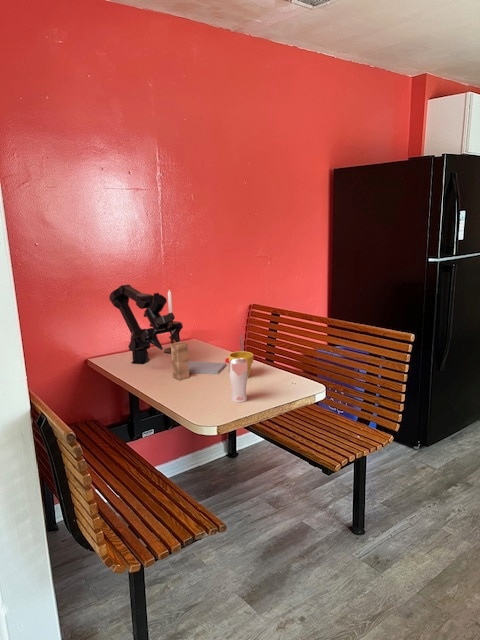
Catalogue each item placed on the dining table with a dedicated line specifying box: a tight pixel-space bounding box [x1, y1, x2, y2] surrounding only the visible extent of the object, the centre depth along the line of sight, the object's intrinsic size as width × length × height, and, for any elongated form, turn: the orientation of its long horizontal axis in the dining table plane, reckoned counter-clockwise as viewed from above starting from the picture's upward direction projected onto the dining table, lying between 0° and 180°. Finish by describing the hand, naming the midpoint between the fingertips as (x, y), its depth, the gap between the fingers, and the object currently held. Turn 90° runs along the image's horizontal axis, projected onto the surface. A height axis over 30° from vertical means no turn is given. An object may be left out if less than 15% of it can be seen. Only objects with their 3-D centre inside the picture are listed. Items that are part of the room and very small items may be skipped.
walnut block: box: [170, 341, 190, 381], centre depth 202 cm, size 5×5×15 cm
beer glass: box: [228, 358, 249, 403], centre depth 177 cm, size 7×7×15 cm
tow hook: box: [224, 333, 245, 364], centre depth 224 cm, size 8×13×9 cm
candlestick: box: [163, 283, 183, 355], centre depth 241 cm, size 11×11×35 cm
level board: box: [188, 360, 227, 375], centre depth 215 cm, size 18×12×1 cm, turn 74°
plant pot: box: [228, 350, 254, 378], centre depth 202 cm, size 10×10×10 cm
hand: (171, 347), depth 206 cm, fingers open, 9 cm apart
